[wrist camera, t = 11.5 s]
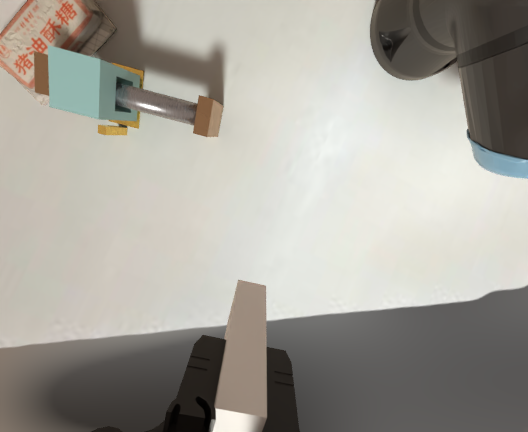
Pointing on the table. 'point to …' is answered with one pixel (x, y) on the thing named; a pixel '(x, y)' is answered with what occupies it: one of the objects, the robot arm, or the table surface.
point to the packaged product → (51, 35)
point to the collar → (87, 85)
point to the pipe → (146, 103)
